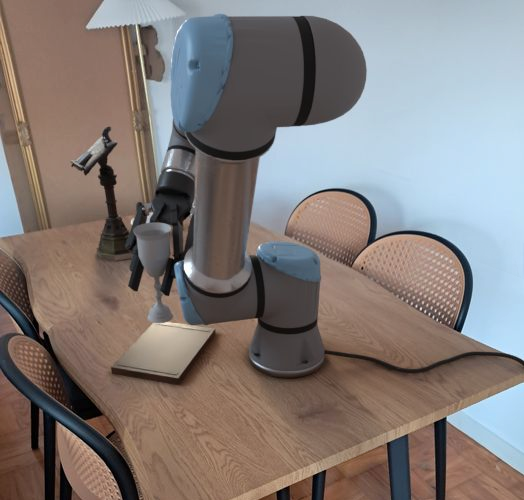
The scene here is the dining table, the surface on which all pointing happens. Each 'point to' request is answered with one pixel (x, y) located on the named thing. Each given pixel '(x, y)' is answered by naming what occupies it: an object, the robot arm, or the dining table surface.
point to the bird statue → (114, 227)
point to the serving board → (164, 352)
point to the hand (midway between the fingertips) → (148, 290)
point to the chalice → (155, 262)
